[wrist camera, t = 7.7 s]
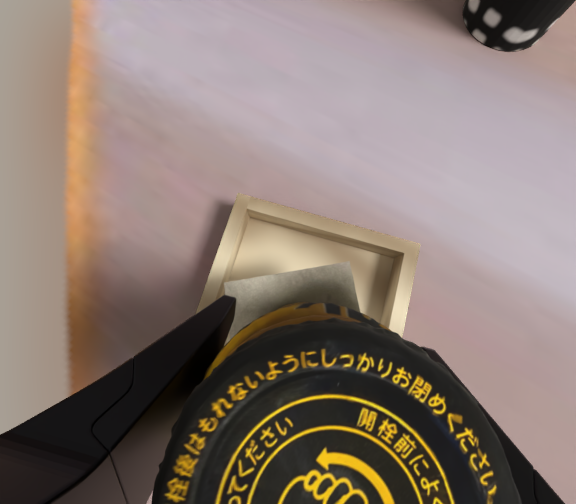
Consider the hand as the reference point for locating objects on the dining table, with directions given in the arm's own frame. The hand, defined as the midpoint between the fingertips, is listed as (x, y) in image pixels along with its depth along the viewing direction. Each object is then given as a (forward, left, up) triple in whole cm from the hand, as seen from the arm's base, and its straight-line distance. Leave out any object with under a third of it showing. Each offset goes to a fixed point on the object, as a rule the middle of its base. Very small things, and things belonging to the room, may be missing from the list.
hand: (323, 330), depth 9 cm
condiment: (-1, 0, -7) cm, 7 cm away
